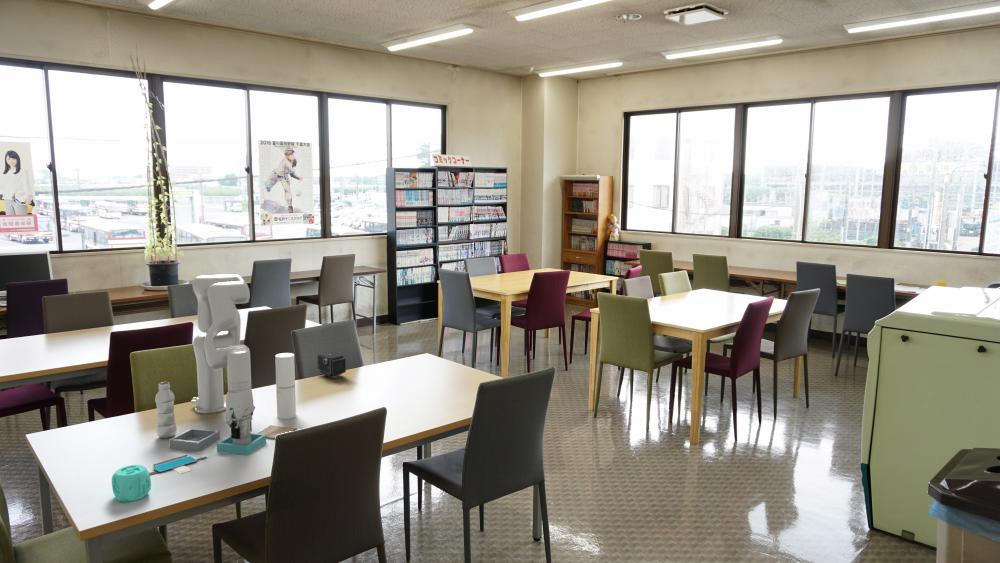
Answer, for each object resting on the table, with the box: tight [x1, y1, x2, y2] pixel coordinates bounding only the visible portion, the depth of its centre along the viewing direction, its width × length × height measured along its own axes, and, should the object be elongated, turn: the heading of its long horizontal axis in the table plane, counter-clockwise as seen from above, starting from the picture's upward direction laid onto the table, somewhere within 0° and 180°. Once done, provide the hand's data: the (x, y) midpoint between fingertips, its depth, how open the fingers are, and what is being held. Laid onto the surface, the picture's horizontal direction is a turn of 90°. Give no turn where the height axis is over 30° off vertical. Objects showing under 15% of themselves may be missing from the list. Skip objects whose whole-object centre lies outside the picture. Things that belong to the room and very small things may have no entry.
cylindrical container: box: [274, 352, 297, 420], centre depth 264 cm, size 7×7×25 cm
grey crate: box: [168, 427, 221, 452], centre depth 236 cm, size 12×12×3 cm
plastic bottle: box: [154, 381, 177, 439], centre depth 241 cm, size 6×7×20 cm
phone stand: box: [149, 454, 208, 476], centre depth 216 cm, size 20×12×2 cm, turn 139°
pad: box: [256, 424, 298, 440], centre depth 247 cm, size 11×11×1 cm
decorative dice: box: [111, 464, 152, 503], centre depth 195 cm, size 8×8×8 cm
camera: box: [317, 351, 347, 379], centre depth 322 cm, size 11×11×15 cm
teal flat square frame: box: [216, 432, 267, 456], centre depth 233 cm, size 12×12×3 cm
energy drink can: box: [233, 408, 252, 446], centre depth 232 cm, size 6×6×15 cm
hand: (241, 434), depth 233 cm, fingers closed on energy drink can, 6 cm apart
